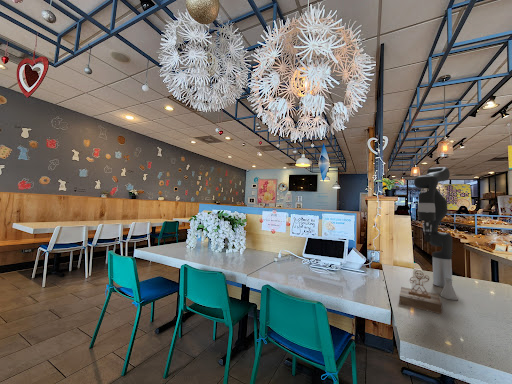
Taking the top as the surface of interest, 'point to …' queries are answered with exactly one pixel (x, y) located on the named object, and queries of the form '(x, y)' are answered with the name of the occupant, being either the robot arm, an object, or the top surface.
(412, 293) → the gingerbread man figurine
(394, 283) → the top surface
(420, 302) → the walnut plinth
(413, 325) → the top surface
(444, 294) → the flask
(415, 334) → the top surface
